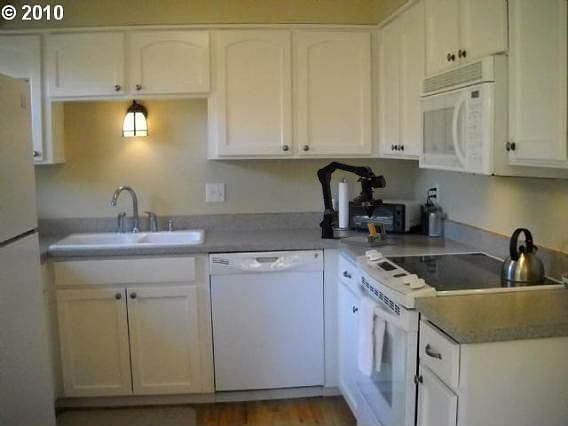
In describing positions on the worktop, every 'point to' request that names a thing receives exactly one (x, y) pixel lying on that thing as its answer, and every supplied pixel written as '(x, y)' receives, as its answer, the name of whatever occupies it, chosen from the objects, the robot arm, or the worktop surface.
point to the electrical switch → (378, 227)
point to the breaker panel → (366, 240)
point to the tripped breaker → (372, 230)
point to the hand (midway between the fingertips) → (369, 218)
